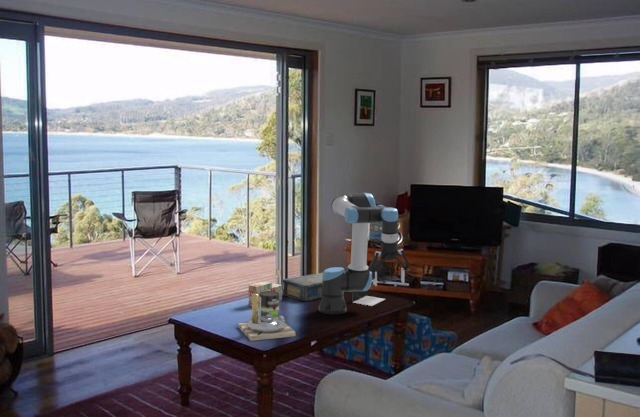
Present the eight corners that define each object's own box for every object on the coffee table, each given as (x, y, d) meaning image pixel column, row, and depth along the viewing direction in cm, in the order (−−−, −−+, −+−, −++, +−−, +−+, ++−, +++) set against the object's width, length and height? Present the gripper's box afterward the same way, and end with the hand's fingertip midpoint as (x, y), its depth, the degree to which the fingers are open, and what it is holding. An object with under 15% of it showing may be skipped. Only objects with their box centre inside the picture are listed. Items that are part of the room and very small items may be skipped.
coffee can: (282, 321, 341) (283, 294, 339) (265, 324, 334) (266, 297, 333) (272, 316, 349) (272, 290, 347) (255, 319, 343) (255, 292, 341)
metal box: (281, 295, 393) (281, 279, 392) (321, 287, 415) (321, 271, 414) (305, 302, 378) (305, 285, 377) (345, 293, 400) (345, 277, 399)
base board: (238, 327, 328) (238, 323, 328) (280, 323, 337) (280, 319, 336) (250, 340, 308) (250, 336, 308) (295, 336, 316) (295, 331, 316)
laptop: (371, 307, 372) (372, 284, 370) (351, 303, 378) (352, 281, 377) (385, 300, 387) (386, 278, 386) (366, 297, 394) (366, 275, 392)
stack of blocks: (274, 299, 384) (274, 278, 383) (282, 300, 380) (282, 279, 379) (248, 306, 368) (248, 284, 366) (256, 308, 364) (256, 286, 362)
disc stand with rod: (276, 320, 334) (277, 287, 332) (290, 330, 318) (291, 295, 316) (242, 324, 326) (242, 290, 324) (255, 334, 310) (255, 299, 308)
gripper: (365, 245, 303) (365, 288, 309) (417, 241, 308) (416, 283, 314) (361, 240, 310) (361, 282, 316) (412, 236, 315) (411, 277, 321)
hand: (389, 283), depth 315 cm, fingers open, 13 cm apart
